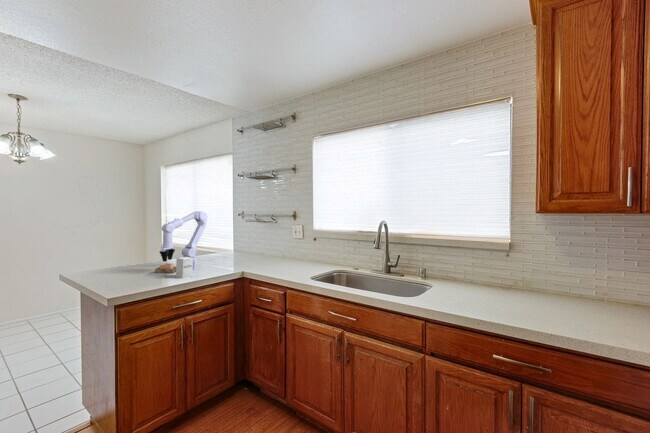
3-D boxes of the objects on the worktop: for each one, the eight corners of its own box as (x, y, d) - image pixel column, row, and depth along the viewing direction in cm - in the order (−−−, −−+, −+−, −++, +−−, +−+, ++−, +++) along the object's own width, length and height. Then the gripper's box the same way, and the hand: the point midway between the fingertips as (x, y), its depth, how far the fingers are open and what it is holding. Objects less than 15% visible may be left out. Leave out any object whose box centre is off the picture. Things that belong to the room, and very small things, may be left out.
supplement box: (182, 278, 194) (182, 259, 193) (175, 277, 198) (176, 257, 197) (192, 276, 200) (193, 257, 200) (186, 275, 204) (186, 256, 204)
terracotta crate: (173, 270, 213) (173, 263, 213) (170, 272, 208) (170, 264, 208) (163, 270, 213) (163, 263, 213) (159, 271, 208) (160, 264, 208)
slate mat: (175, 271, 216) (176, 270, 216) (164, 276, 199) (164, 275, 199) (157, 270, 215) (157, 270, 215) (144, 275, 198) (144, 275, 198)
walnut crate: (178, 270, 216) (178, 266, 216) (172, 273, 206) (172, 269, 206) (161, 270, 215) (162, 266, 215) (155, 273, 206) (155, 268, 206)
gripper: (166, 239, 217) (166, 258, 218) (156, 242, 203) (156, 262, 203) (176, 240, 218) (176, 258, 218) (167, 242, 203) (166, 262, 204)
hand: (167, 260), depth 211 cm, fingers open, 7 cm apart
